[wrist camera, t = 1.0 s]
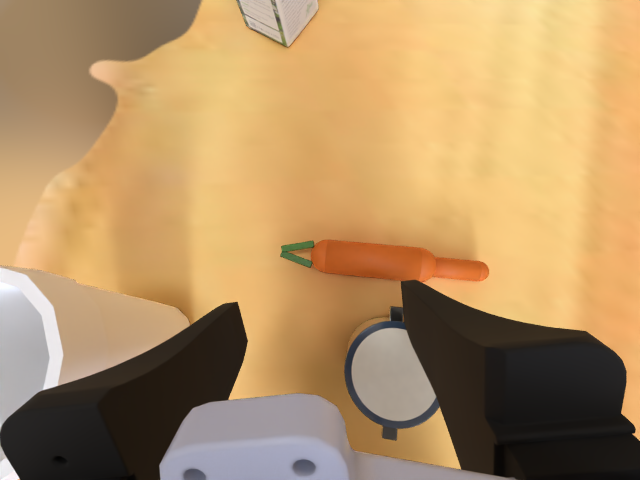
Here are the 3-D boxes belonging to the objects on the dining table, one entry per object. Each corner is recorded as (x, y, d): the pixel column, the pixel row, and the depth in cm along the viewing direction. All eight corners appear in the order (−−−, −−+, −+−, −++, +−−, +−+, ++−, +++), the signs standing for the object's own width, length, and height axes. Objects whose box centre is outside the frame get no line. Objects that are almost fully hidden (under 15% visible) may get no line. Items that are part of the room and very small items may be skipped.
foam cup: (205, 276, 26) (64, 245, 13) (217, 391, 24) (63, 485, 11) (102, 298, 26) (-126, 290, 14) (105, 412, 24) (-162, 526, 12)
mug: (423, 311, 23) (449, 312, 17) (419, 412, 22) (446, 455, 16) (351, 303, 24) (350, 301, 18) (342, 400, 23) (338, 436, 16)
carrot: (283, 269, 25) (275, 265, 23) (287, 239, 26) (280, 232, 23) (482, 290, 23) (498, 288, 21) (482, 257, 24) (497, 251, 21)
